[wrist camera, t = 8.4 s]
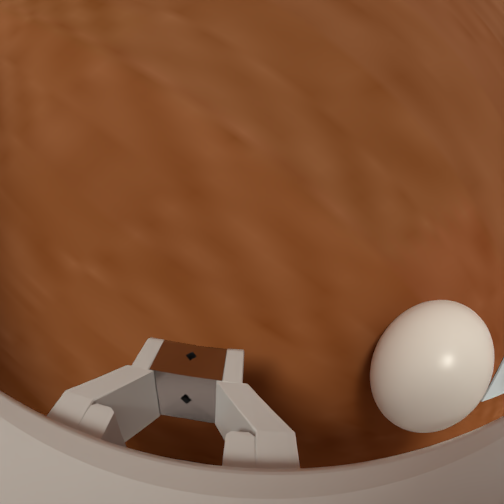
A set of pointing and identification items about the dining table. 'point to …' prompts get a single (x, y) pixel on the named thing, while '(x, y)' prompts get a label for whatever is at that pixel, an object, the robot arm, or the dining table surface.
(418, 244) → the dining table surface
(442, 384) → the cue ball
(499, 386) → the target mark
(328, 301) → the dining table surface
